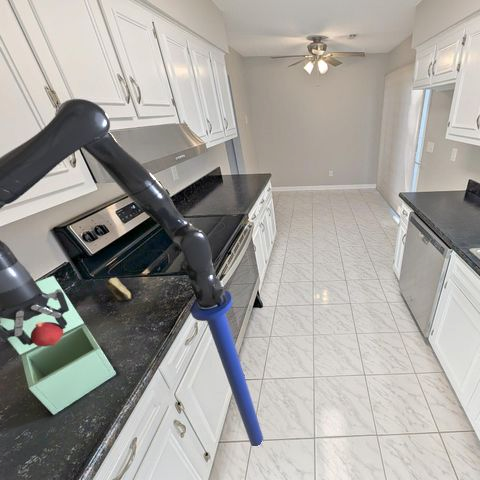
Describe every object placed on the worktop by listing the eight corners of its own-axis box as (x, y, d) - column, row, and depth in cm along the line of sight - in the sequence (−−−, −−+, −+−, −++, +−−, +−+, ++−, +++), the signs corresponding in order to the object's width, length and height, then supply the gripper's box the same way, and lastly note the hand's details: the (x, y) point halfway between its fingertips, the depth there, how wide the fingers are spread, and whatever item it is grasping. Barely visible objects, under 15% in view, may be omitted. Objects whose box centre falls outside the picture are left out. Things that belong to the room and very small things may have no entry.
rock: (112, 285, 112) (97, 296, 103) (119, 269, 111) (105, 280, 102) (137, 294, 116) (126, 306, 106) (145, 279, 114) (134, 290, 105)
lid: (53, 276, 73) (53, 275, 73) (-22, 303, 63) (-22, 302, 64) (84, 323, 79) (83, 322, 79) (19, 354, 69) (19, 353, 69)
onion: (41, 343, 69) (24, 321, 65) (69, 332, 72) (54, 310, 68) (39, 357, 65) (20, 334, 61) (68, 344, 68) (52, 322, 64)
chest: (116, 374, 75) (99, 348, 70) (53, 415, 65) (28, 388, 60) (100, 348, 84) (84, 323, 79) (43, 380, 74) (20, 355, 69)
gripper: (-41, 307, 52) (9, 361, 60) (52, 273, 62) (85, 324, 70) (-41, 294, 56) (7, 346, 64) (46, 264, 66) (78, 313, 74)
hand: (47, 334), depth 67 cm, fingers closed on onion, 6 cm apart
